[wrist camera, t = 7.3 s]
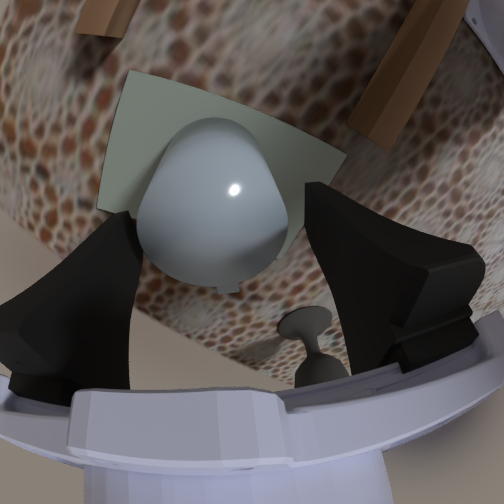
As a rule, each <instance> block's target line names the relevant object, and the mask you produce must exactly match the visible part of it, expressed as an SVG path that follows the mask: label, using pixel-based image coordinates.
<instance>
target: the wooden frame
mask: <svg viewBox="0 0 504 504" xmlns="http://www.w3.org/2000/svg"><path fill="white" fill-rule="evenodd" d="M139 2H140V0H87V2H86V4H85V6H84V8H83V11H82V13H81V15H80V18H79V20H78V23H77V25H76V28H75V31H74V33H82V34H92V35H100V36H109V37H117V38H124V35H125V33H126V30H127V28H128V26H129V23H130V21H131V19H132V17H133V15H134V12H135V10H136V8H137V6H138V4H139ZM469 2H470V0H415V2H414V4H413V6H412V7H411V9H410V11H409V13H408V15H407V17H406V18H405V20H404V22H403V24H402V26H401V27H400V29H399V31H398V33H397V35H396V36H395V38H394V40H393V42H392V43H391V45H390V47H389V49H388V50H387V52H386V54H385V56H384V58H383V59H382V61H381V63H380V65H379V66H378V68H377V70H376V72H375V73H374V75H373V77H372V79H371V80H370V82H369V84H368V85H367V87H366V89H365V91H364V92H363V94H362V96H361V98H360V99H359V101H358V103H357V104H356V106H355V108H354V110H353V111H352V113H351V115H350V116H349V118H348V120H347V122H346V124H347V125H349V126H351V127H352V128H354V129H355V130H357V131H358V132H360V133H361V134H363V135H364V136H366V137H367V138H369V139H370V140H372V141H373V142H375V143H376V144H378V145H379V146H381V147H382V148H384V149H385V150H387V151H388V152H389V151H390V149H391V148H392V146H393V145H394V143H395V141H396V140H397V138H398V137H399V135H400V133H401V132H402V130H403V128H404V127H405V125H406V123H407V122H408V120H409V118H410V117H411V115H412V113H413V111H414V110H415V108H416V106H417V105H418V103H419V101H420V99H421V98H422V96H423V94H424V92H425V90H426V89H427V87H428V85H429V83H430V81H431V80H432V78H433V76H434V74H435V72H436V70H437V68H438V66H439V65H440V63H441V61H442V59H443V57H444V55H445V53H446V51H447V49H448V47H449V45H450V43H451V41H452V39H453V37H454V35H455V33H456V31H457V29H458V26H459V24H460V22H461V20H462V18H463V16H464V13H465V11H466V9H467V7H468V4H469Z"/></svg>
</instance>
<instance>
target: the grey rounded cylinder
mask: <svg viewBox="0 0 504 504" xmlns="http://www.w3.org/2000/svg"><path fill="white" fill-rule="evenodd" d="M287 232H288V216H287V212H286V208H285V205H284V202H283V200H282V198H281V195H280V193H279V191H278V188H277V186H276V183H275V181H274V179H273V176H272V174H271V172H270V170H269V167H268V165H267V163H266V160H265V158H264V156H263V154H262V151H261V149H260V147H259V145H258V143H257V141H256V139H255V138H254V136H253V135H252V134H251V133H250V132H249V131H248V130H247V129H246V128H245V127H243V126H242V125H240V124H239V123H237V122H234V121H232V120H229V119H225V118H216V117H211V118H204V119H199V120H196V121H194V122H192V123H190V124H188V125H186V126H185V127H183V128H182V129H181V130H180V131H178V132H177V133H176V135H175V136H174V137H173V138H172V140H171V141H170V143H169V145H168V147H167V149H166V151H165V153H164V155H163V157H162V159H161V161H160V163H159V165H158V167H157V169H156V171H155V173H154V176H153V178H152V180H151V182H150V184H149V186H148V189H147V191H146V193H145V195H144V198H143V200H142V202H141V205H140V208H139V211H138V216H137V233H138V238H139V241H140V244H141V247H142V249H143V251H144V252H145V254H146V255H147V257H148V258H149V260H150V261H151V262H152V263H153V264H154V265H155V266H156V267H157V268H158V269H160V270H161V271H162V272H164V273H165V274H167V275H168V276H170V277H172V278H174V279H176V280H179V281H181V282H184V283H188V284H192V285H197V286H205V287H216V288H217V291H218V295H219V294H227V293H234V292H240V290H239V282H242V281H244V280H247V279H249V278H251V277H253V276H255V275H257V274H258V273H260V272H261V271H263V270H264V269H265V268H266V267H268V266H269V265H270V264H271V263H272V262H273V261H274V260H275V258H276V257H277V256H278V254H279V253H280V251H281V249H282V247H283V245H284V243H285V240H286V236H287Z"/></svg>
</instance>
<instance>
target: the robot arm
mask: <svg viewBox="0 0 504 504" xmlns="http://www.w3.org/2000/svg"><path fill="white" fill-rule="evenodd" d="M463 18H464V20H465V21H466V22H467V23H468V25H469V26H470V27H471V28H472V30H473V31H474V32H475V33H476V35H477V36H478V37H479V39H480V40H481V41H482V43H483V44H484V46H485V47H486V49H487V50H488V51H489V53H490V54H491V56H492V57H493V59H494V60H495V62H496V64H497V65H498V67H499V68H500V70H501V72H502V73H503V75H504V0H470V2H469V4H468V7H467V9H466V11H465V13H464V16H463ZM472 20H473V21H472ZM304 226H305V229H306V232H307V236H308V239H309V242H310V245H311V247H312V249H313V252H314V254H315V256H316V258H317V260H318V263H319V265H320V267H321V269H322V271H323V274H324V276H325V278H326V280H327V282H328V285H329V287H330V290H331V292H332V295H333V298H334V302H335V305H336V308H337V312H338V315H339V319H340V323H341V327H342V331H343V334H344V339H345V343H346V348H347V353H348V357H349V363H350V369H351V374H352V376H349V377H345V378H341V379H337V380H333V381H328V382H324V383H319V384H315V385H310V386H305V387H300V388H294V389H289V390H283V391H277V392H271V391H268V390H263V389H257V388H252V387H212V388H198V389H178V390H130V381H129V361H128V360H129V330H130V319H131V313H132V308H133V303H134V299H135V294H136V290H137V286H138V282H139V277H140V273H141V268H142V260H143V249H142V247H141V244H140V241H139V238H138V234H137V231H136V229H135V226H134V224H133V221H132V218H131V216H130V213H129V211H128V210H127V211H122V212H118V213H115V214H113V215H112V216H111V217H109V218H108V219H107V220H106V221H105V222H104V223H102V224H101V225H100V226H99V227H98V228H97V229H96V230H95V231H94V232H93V233H92V234H91V235H90V236H89V237H88V238H87V239H86V240H85V241H84V242H82V243H81V244H80V245H79V246H78V247H77V248H76V249H75V250H74V251H73V252H72V253H71V254H70V255H69V256H68V257H66V258H65V259H64V260H63V261H62V262H61V263H60V264H58V265H57V266H56V267H55V268H54V269H53V270H51V271H50V272H49V273H48V274H46V275H45V276H44V277H42V278H41V279H40V280H38V281H37V282H36V283H34V284H33V285H32V286H30V287H29V288H27V289H26V290H25V291H23V292H22V293H20V294H19V295H17V296H15V297H14V298H12V299H11V300H9V301H7V302H5V303H4V304H2V305H0V362H1V363H2V364H4V365H5V366H6V367H7V368H8V369H9V370H10V371H12V374H11V378H9V377H7V376H5V375H2V374H0V437H1V438H3V439H5V440H7V441H9V442H11V443H13V444H15V445H17V446H19V447H21V448H24V449H26V450H29V451H31V452H33V453H36V454H38V455H41V456H44V457H47V458H50V459H52V460H55V461H58V462H61V463H64V464H68V465H71V466H74V467H78V468H81V469H84V504H394V501H393V497H392V492H391V488H390V483H389V479H388V475H387V471H386V467H385V463H384V459H383V455H382V453H384V452H386V451H389V450H391V449H394V448H396V447H399V446H401V445H403V444H406V443H408V442H410V441H412V440H415V439H417V438H419V437H421V436H423V435H425V434H427V433H429V432H431V431H433V430H435V429H437V428H439V427H441V426H443V425H445V424H446V423H448V422H450V421H452V420H453V419H455V418H457V417H459V416H460V415H462V414H464V413H465V412H467V411H469V410H470V409H472V408H473V407H475V406H477V405H478V404H480V403H481V402H482V401H484V400H485V399H487V398H489V397H490V396H491V395H493V394H494V393H495V392H496V391H498V390H499V389H500V388H502V387H503V386H504V318H503V317H502V315H501V314H500V312H499V310H496V311H494V312H492V313H490V314H488V315H486V316H484V317H482V318H480V319H479V320H477V321H476V322H475V323H474V324H473V323H472V321H471V319H470V316H471V315H472V314H473V311H472V309H471V308H470V306H469V305H468V304H469V303H470V301H471V300H472V298H473V296H474V295H475V293H476V291H477V290H478V288H479V286H480V284H481V282H482V280H483V278H484V275H485V269H486V268H485V262H484V260H483V259H482V258H481V256H480V255H479V254H478V253H477V251H476V250H475V249H474V248H473V247H472V246H471V245H469V244H464V243H460V242H456V241H451V240H447V239H443V238H440V237H436V236H433V235H430V234H427V233H424V232H420V231H418V230H415V229H412V228H410V227H407V226H404V225H402V224H399V223H397V222H395V221H392V220H390V219H388V218H386V217H384V216H381V215H379V214H377V213H375V212H373V211H372V210H370V209H368V208H366V207H364V206H362V205H360V204H359V203H357V202H355V201H353V200H352V199H350V198H348V197H347V196H345V195H343V194H341V193H340V192H338V191H336V190H335V189H333V188H331V187H330V186H328V185H326V184H324V183H322V182H320V181H318V182H307V183H305V206H304Z"/></svg>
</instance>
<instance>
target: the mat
mask: <svg viewBox="0 0 504 504" xmlns="http://www.w3.org/2000/svg"><path fill="white" fill-rule="evenodd" d="M211 117H216V118H225V119H229V120H232V121H234V122H237V123H239V124H240V125H242V126H243V127H245V128H246V129H247V130H248V131H249V132H250V133H251V134H252V135H253V136H254V138H255V139H256V141H257V143H258V145H259V147H260V149H261V151H262V154H263V156H264V158H265V160H266V163H267V165H268V167H269V170H270V172H271V174H272V176H273V179H274V181H275V183H276V186H277V188H278V191H279V193H280V195H281V198H282V200H283V202H284V205H285V208H286V212H287V216H288V232H287V236H286V240H285V243H284V245H283V247H282V249H281V251H280V253H279V254H278V256H277V257H276V258H275V259H279V260H281V259H282V257H283V256H284V254H285V253H286V251H287V250H288V248H289V247H290V245H291V244H292V242H293V240H294V239H295V237H296V236H297V234H298V233H299V231H300V230H301V228H302V227H303V225H304V206H305V183H307V182H318V181H320V182H322V183H324V184H326V185H328V186H329V184H330V183H331V181H332V179H333V178H334V176H335V175H336V173H337V171H338V170H339V168H340V167H341V165H342V163H343V162H344V160H345V158H346V157H347V154H346V153H344V152H342V151H340V150H339V149H337V148H335V147H333V146H331V145H329V144H327V143H326V142H324V141H322V140H320V139H318V138H316V137H314V136H312V135H310V134H308V133H306V132H304V131H302V130H300V129H298V128H296V127H294V126H291V125H289V124H287V123H285V122H283V121H281V120H278V119H276V118H274V117H272V116H269V115H267V114H265V113H262V112H260V111H258V110H255V109H253V108H250V107H248V106H245V105H243V104H240V103H238V102H235V101H232V100H230V99H227V98H224V97H222V96H219V95H216V94H213V93H210V92H207V91H204V90H201V89H198V88H195V87H192V86H189V85H186V84H182V83H179V82H176V81H172V80H169V79H165V78H161V77H158V76H154V75H150V74H146V73H142V72H137V71H133V70H129V73H128V76H127V79H126V82H125V85H124V88H123V91H122V94H121V97H120V101H119V104H118V108H117V111H116V115H115V118H114V122H113V126H112V130H111V134H110V138H109V142H108V147H107V151H106V156H105V161H104V166H103V171H102V177H101V183H100V189H99V196H98V203H97V208H98V209H102V210H105V211H109V212H113V213H118V212H122V211H127V210H128V211H129V213H130V216H131V218H134V219H137V216H138V211H139V208H140V205H141V202H142V200H143V198H144V195H145V193H146V191H147V189H148V186H149V184H150V182H151V180H152V178H153V176H154V173H155V171H156V169H157V167H158V165H159V163H160V161H161V159H162V157H163V155H164V153H165V151H166V149H167V147H168V145H169V143H170V141H171V140H172V138H173V137H174V136H175V135H176V133H177V132H178V131H180V130H181V129H182V128H183V127H185V126H186V125H188V124H190V123H192V122H194V121H196V120H199V119H204V118H211Z"/></svg>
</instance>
